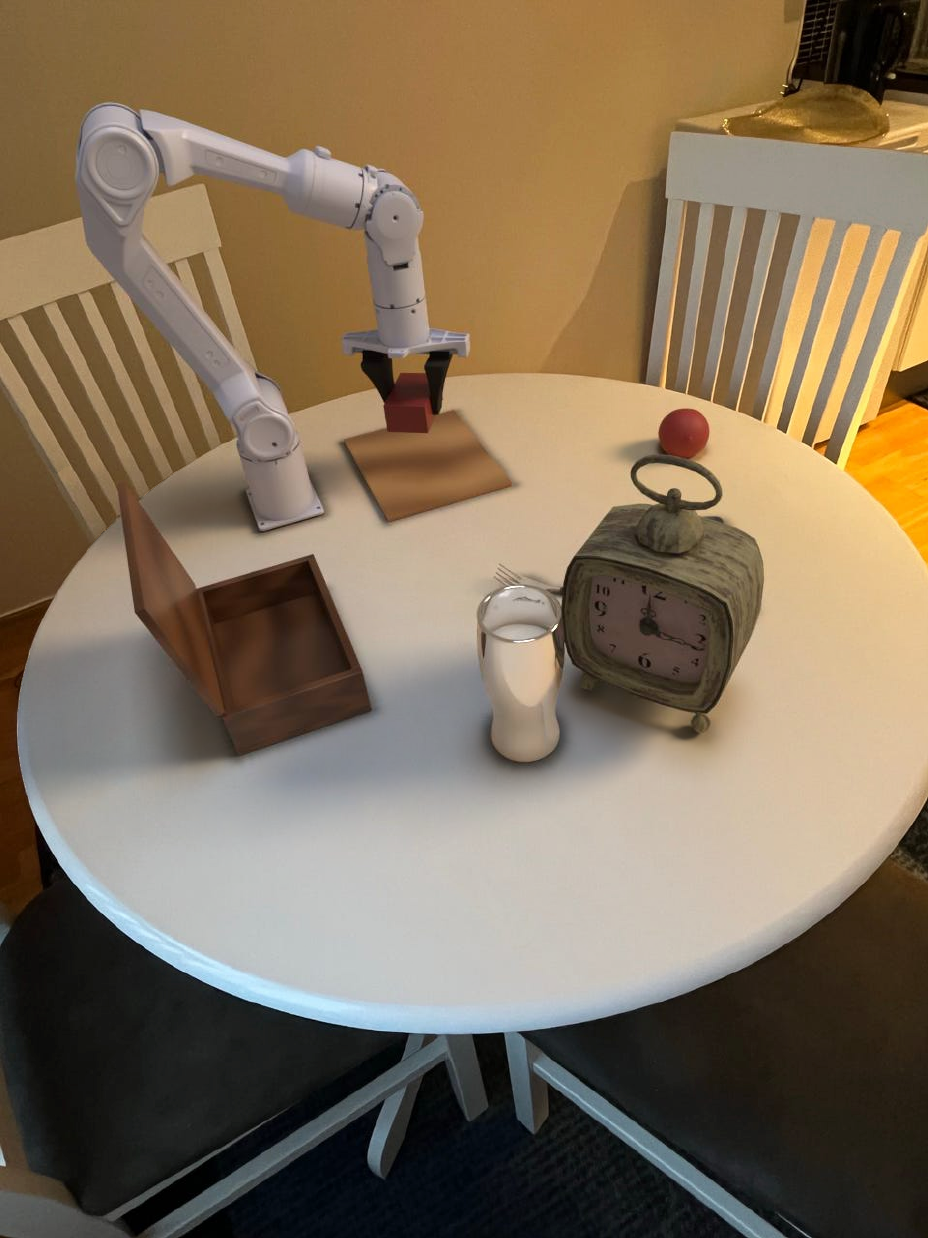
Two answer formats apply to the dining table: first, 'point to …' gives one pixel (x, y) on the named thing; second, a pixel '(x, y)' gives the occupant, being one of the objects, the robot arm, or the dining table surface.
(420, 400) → the dark-red plain block
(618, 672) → the tabletop clock
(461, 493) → the wooden board
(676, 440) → the fruit
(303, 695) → the chest
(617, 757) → the dining table surface
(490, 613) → the beer glass
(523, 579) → the fork
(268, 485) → the robot arm
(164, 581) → the lid
